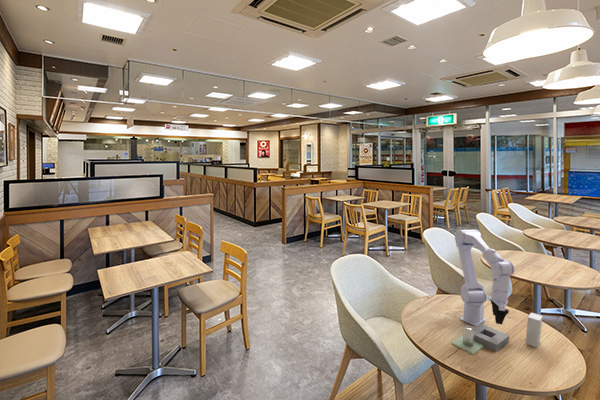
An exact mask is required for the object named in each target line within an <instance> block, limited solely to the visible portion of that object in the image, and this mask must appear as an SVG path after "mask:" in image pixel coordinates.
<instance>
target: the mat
mask: <svg viewBox="0 0 600 400" xmlns="http://www.w3.org/2000/svg"><path fill="white" fill-rule="evenodd" d="M451 344H452V345H453V346H455V347H458V348H459V349H462V350H463V351H466V352H467V353H469V354H472V355H474V354H476V353H478V352H479V351H480V350H481V349H483V348H485V346H484V345H482V344H480V343H478V342H476V341H474V345H473V347H468V346H465V345H464V344H463V334H462V335H461V336H459V337H458V338H456V339H455V340H453V341H452V342H451Z"/></svg>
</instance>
